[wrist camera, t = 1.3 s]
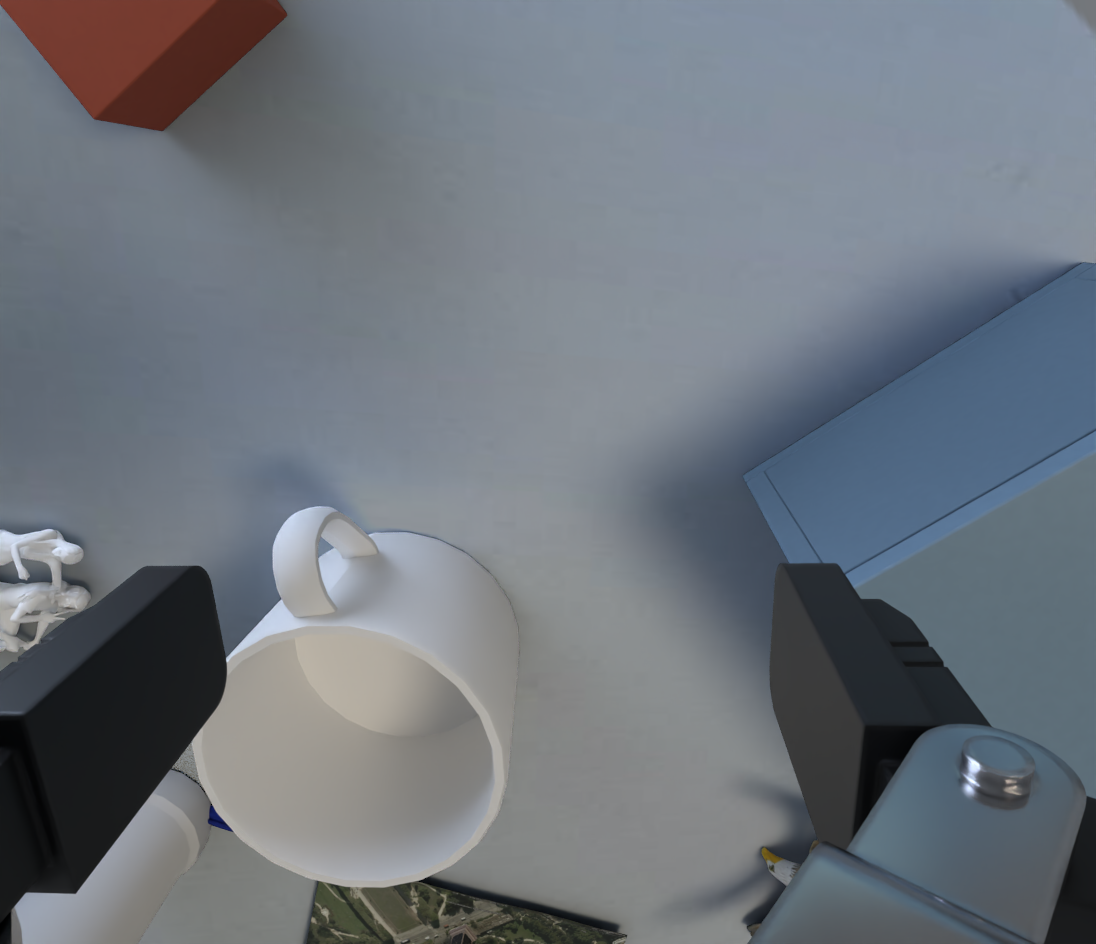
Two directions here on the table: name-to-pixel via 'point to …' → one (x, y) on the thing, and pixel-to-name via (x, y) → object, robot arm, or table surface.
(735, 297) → the table surface
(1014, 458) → the blue-grey box
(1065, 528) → the box lid
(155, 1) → the terracotta brick block
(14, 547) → the figurine
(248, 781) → the mug
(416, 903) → the eiffel tower figurine
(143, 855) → the bottle
